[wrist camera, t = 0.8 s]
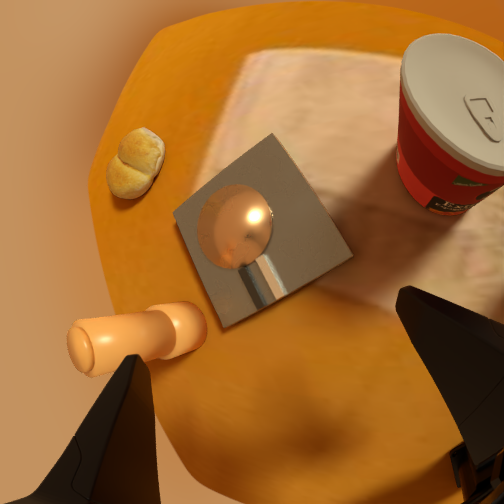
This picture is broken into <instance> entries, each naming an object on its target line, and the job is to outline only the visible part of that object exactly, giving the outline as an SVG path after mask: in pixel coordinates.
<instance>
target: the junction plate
mask: <svg viewBox="0 0 504 504" xmlns="http://www.w3.org/2000/svg"><path fill="white" fill-rule="evenodd" d="M173 214H174V217H175V219H176V222H177V224H178V227H179V229H180V232H181V234H182V236H183V239H184V241H185V243H186V246H187V248H188V250H189V253H190V255H191V257H192V260H193V262H194V264H195V267H196V269H197V271H198V273H199V276H200V278H201V280H202V282H203V284H204V287H205V289H206V291H207V293H208V295H209V297H210V300H211V302H212V304H213V306H214V308H215V310H216V312H217V314H218V317H219V319H220V321H221V323H222V325H223V327H224V328H226V327H229V326H232V325H234V324H236V323H238V322H240V321H242V320H244V319H245V318H247V317H249V316H251V315H253V314H255V313H257V312H259V311H260V310H262V309H264V308H266V307H268V306H270V305H271V304H273V303H275V302H277V301H279V300H280V299H282V298H284V297H286V296H288V295H289V294H291V293H293V292H295V291H296V290H298V289H300V288H302V287H303V286H305V285H307V284H309V283H310V282H312V281H314V280H316V279H317V278H319V277H321V276H322V275H324V274H326V273H327V272H329V271H331V270H332V269H334V268H336V267H337V266H339V265H341V264H342V263H344V262H346V261H347V260H349V259H350V258H352V257H354V255H353V253H352V252H351V250H350V248H349V246H348V245H347V243H346V241H345V240H344V238H343V236H342V235H341V233H340V231H339V230H338V228H337V226H336V225H335V223H334V221H333V220H332V218H331V217H330V215H329V213H328V212H327V210H326V209H325V207H324V206H323V204H322V202H321V201H320V199H319V198H318V196H317V195H316V193H315V192H314V190H313V189H312V187H311V186H310V184H309V183H308V181H307V180H306V178H305V177H304V175H303V174H302V172H301V171H300V169H299V168H298V167H297V165H296V164H295V162H294V161H293V159H292V158H291V157H290V155H289V154H288V152H287V151H286V150H285V148H284V147H283V145H282V144H281V143H280V141H279V140H278V139H277V138H276V137H275V136H274V134H273V133H271V134H270V135H269V136H267V137H266V138H264V139H263V140H262V141H260V142H259V143H258V144H256V145H255V146H254V147H252V148H251V149H250V150H248V151H247V152H246V153H244V154H243V155H242V156H240V157H239V158H238V159H237V160H235V161H234V162H233V163H231V164H230V165H229V166H228V167H226V168H225V169H224V170H223V171H221V172H220V173H219V174H218V175H216V176H215V177H214V178H213V179H211V180H210V181H209V182H208V183H207V184H205V185H204V186H203V187H202V188H200V189H199V190H198V191H197V192H196V193H195V194H193V195H192V196H191V197H190V198H189V199H187V200H186V201H185V202H184V203H183V204H182V205H181V206H179V207H178V208H177V209H176V210H175V211H174V212H173Z"/></svg>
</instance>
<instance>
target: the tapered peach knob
mask: <svg viewBox="0 0 504 504" xmlns="http://www.w3.org/2000/svg"><path fill="white" fill-rule="evenodd" d="M206 336H207V324H206V320H205V317H204V315H203V313H202V312H201V310H200V309H199V308H198V307H197V306H196V305H194V304H193V303H190V302H187V301H183V302H176V303H169V304H161V305H154V306H151V307H149V308H148V309H147V310H146V311H143V312H136V313H129V314H121V315H114V316H106V317H98V318H89V319H82V320H81V319H80V320H76V321H74V323H73V325H72V327H71V328H70V329H69V330H68V333H67V346H68V351H69V355H70V358H71V360H72V362H73V364H74V366H75V367H76V369H77V370H78V371H80V372H82V373H84V374H85V375H86V376H88V377H91V378H93V377H97V376H100V375H104V374H107V373H111V372H114V371H116V369H117V368H118V367H119V365H120V364H121V362H122V361H123V359H124V358H125V356H127V355H130V354H139V355H140V356H141V358H142V360H143V361H144V362H147V361H150V360H153V359H156V358H160V359H163V360H167V359H171V358H173V357H176V356H179V355H182V354H184V353H187V352H190V351H192V350H195V349H198V348H199V347H200V346H202V344H203V343H204V342H205V339H206Z"/></svg>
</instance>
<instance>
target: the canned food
mask: <svg viewBox="0 0 504 504" xmlns="http://www.w3.org/2000/svg"><path fill="white" fill-rule="evenodd" d="M396 161H397V167H398V172H399V175H400V177H401V180H402V182H403V184H404V185H405V187H406V189H407V190H408V192H409V193H410V194H411V195H412V197H413V198H414V199H415V200H416V201H417V202H418V203H420V204H421V205H422V206H423V207H425V208H427V209H428V210H430V211H432V212H435V213H438V214H441V215H448V216H450V215H458V214H461V213H463V212H466V211H467V210H469V209H470V208H472V207H473V206H475V205H476V204H478V203H479V202H480V201H482V200H483V199H485V198H486V197H488V196H489V195H491V194H492V193H493V192H495V191H496V190H498V189H499V188H500V187H502V186H503V185H504V61H503V60H501V59H500V58H499V57H498V56H497V55H495V54H494V53H493V52H491V51H490V50H488V49H487V48H485V47H483V46H482V45H480V44H478V43H476V42H474V41H472V40H469V39H466V38H463V37H460V36H456V35H451V34H431V35H426V36H423V37H421V38H418V39H416V40H415V41H414V42H413V43H411V44H410V45H409V47H408V48H407V49H406V51H405V52H404V56H403V59H402V65H401V70H400V99H399V124H398V139H397V151H396Z"/></svg>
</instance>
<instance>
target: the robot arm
mask: <svg viewBox="0 0 504 504" xmlns="http://www.w3.org/2000/svg"><path fill="white" fill-rule="evenodd" d="M395 308H396V312H397V314H398V316H399V318H400V320H401V322H402V324H403V326H404V328H405V330H406V332H407V334H408V336H409V338H410V340H411V342H412V344H413V346H414V347H415V349H416V351H417V353H418V354H419V356H420V358H421V359H422V361H423V363H424V364H425V366H426V368H427V370H428V371H429V373H430V375H431V377H432V378H433V380H434V382H435V384H436V386H437V387H438V389H439V391H440V393H441V395H442V397H443V399H444V400H445V402H446V404H447V406H448V408H449V410H450V412H451V414H452V416H453V418H454V420H455V422H456V424H457V426H458V429H459V431H460V433H461V435H462V437H463V440H464V442H465V443H464V444H462V445H460V446H459V447H457V448H455V449H453V450H452V451H451V452H450V458H451V462H452V466H453V470H454V474H455V479H456V483H457V487H458V488H460V487H461V488H462V493H463V499H464V502H463V503H461V504H504V325H503V324H501V323H499V322H496V321H494V320H492V319H488V318H487V317H485V316H483V315H480V314H478V313H476V312H473V311H471V310H469V309H466V308H464V307H462V306H459V305H457V304H454V303H452V302H450V301H447V300H445V299H442V298H440V297H438V296H435V295H433V294H430V293H428V292H425V291H423V290H420V289H418V288H416V287H413V286H410V285H409V286H405V287H403V288H401V289H400V290H399V293H398V297H397V301H396V306H395ZM454 453H455V454H454ZM156 457H157V456H156V437H155V413H154V404H153V396H152V388H151V378H150V372H149V369H148V367H147V366H146V364H145V363H144V361H143V360H142V358H141V356H140V355H139V354H130V355H127V356H125V358H124V359H123V361H122V362H121V364H120V365H119V367H118V368H117V369H116V371H115V372H114V374H113V376H112V377H111V378H110V380H109V381H108V383H107V384H106V386H105V387H104V389H103V391H102V392H101V394H100V395H99V397H98V398H97V400H96V401H95V403H94V404H93V406H92V407H91V409H90V411H89V412H88V414H87V415H86V417H85V419H84V420H83V422H82V423H81V425H80V426H79V428H78V430H77V431H76V433H75V436H73V438H72V439H71V441H70V443H69V444H68V446H67V447H66V449H65V451H64V452H63V454H62V455H61V457H60V458H59V459H58V461H57V462H56V464H55V465H54V467H53V468H52V469H51V471H50V472H49V473H48V475H47V476H46V477H45V479H44V480H43V481H42V483H41V484H40V485H39V487H38V488H37V489H36V490H35V491H34V492H33V493H32V494H30V495H29V496H27V497H24V498H21V499H18V500H15V501H12V502H8V503H5V504H161V501H160V492H159V482H158V470H157V458H156Z"/></svg>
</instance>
